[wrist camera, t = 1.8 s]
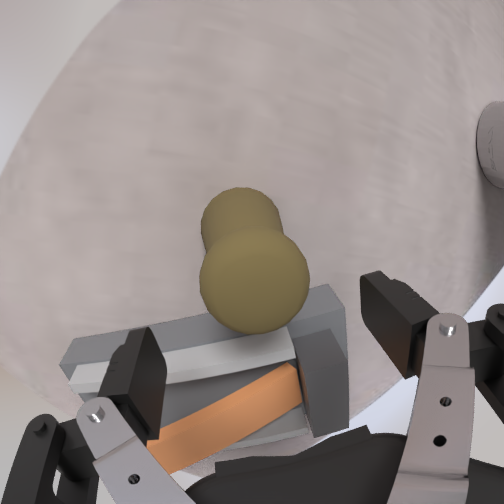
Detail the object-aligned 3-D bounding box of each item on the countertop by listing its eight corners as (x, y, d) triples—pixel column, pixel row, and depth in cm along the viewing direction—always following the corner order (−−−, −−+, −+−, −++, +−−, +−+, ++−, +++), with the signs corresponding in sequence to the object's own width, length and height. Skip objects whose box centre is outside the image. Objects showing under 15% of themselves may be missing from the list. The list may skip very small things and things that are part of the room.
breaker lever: (287, 361, 23) (296, 369, 22) (293, 394, 25) (302, 401, 24) (89, 457, 16) (91, 469, 15) (115, 483, 18) (119, 493, 17)
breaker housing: (328, 283, 26) (365, 338, 18) (336, 374, 30) (362, 431, 22) (73, 338, 26) (42, 395, 18) (121, 414, 30) (108, 470, 22)
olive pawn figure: (288, 195, 23) (343, 242, 13) (272, 269, 25) (306, 358, 15) (207, 181, 22) (196, 218, 12) (195, 258, 24) (181, 346, 14)
